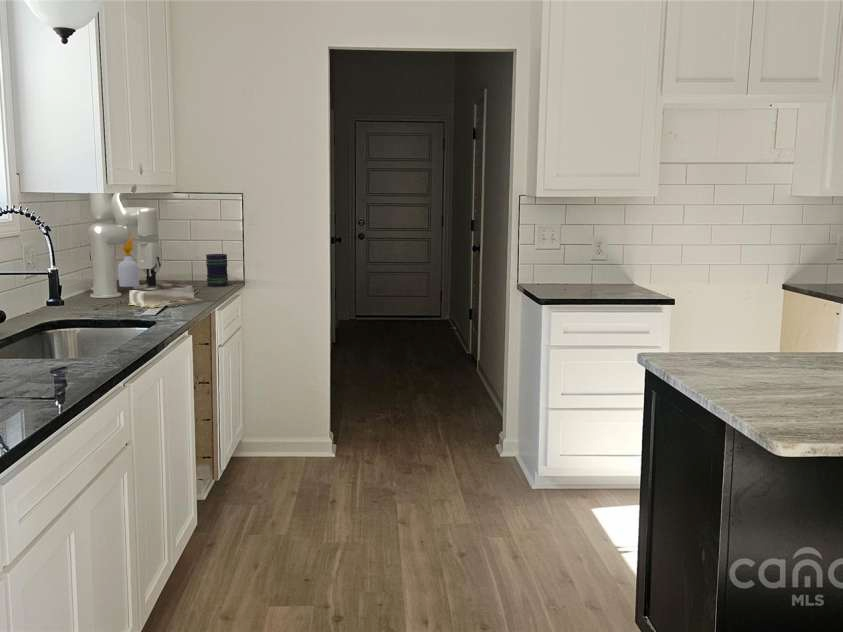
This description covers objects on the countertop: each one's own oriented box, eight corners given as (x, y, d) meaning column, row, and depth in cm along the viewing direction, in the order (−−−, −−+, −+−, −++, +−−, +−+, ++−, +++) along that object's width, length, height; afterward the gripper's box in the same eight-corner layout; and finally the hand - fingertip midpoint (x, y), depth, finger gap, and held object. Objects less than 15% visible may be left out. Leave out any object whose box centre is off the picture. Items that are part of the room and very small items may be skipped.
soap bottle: (138, 284, 415) (135, 233, 411) (140, 286, 407) (137, 234, 403) (118, 285, 411) (115, 234, 408) (120, 287, 403) (117, 235, 399)
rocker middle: (150, 284, 349) (150, 280, 349) (159, 283, 353) (159, 279, 352) (163, 289, 344) (164, 285, 344) (173, 288, 348) (173, 284, 347)
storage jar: (232, 285, 410) (231, 254, 408) (215, 287, 402) (214, 255, 400) (219, 284, 416) (218, 253, 414) (202, 286, 409) (201, 254, 407)
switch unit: (128, 305, 343) (127, 290, 342) (180, 299, 362) (179, 284, 361) (151, 308, 334) (150, 293, 333) (203, 301, 353) (202, 287, 352)
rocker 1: (133, 288, 343) (133, 285, 343) (143, 287, 347) (142, 284, 346) (146, 288, 338) (146, 284, 338) (156, 287, 341) (155, 283, 341)
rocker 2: (167, 285, 356) (166, 282, 356) (176, 284, 359) (175, 281, 359) (180, 283, 350) (180, 280, 350) (189, 282, 354) (188, 279, 353)
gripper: (129, 239, 338) (131, 285, 341) (152, 240, 329) (154, 288, 332) (145, 238, 344) (148, 284, 347) (168, 239, 335) (170, 286, 338)
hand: (151, 285), depth 339 cm, fingers closed
